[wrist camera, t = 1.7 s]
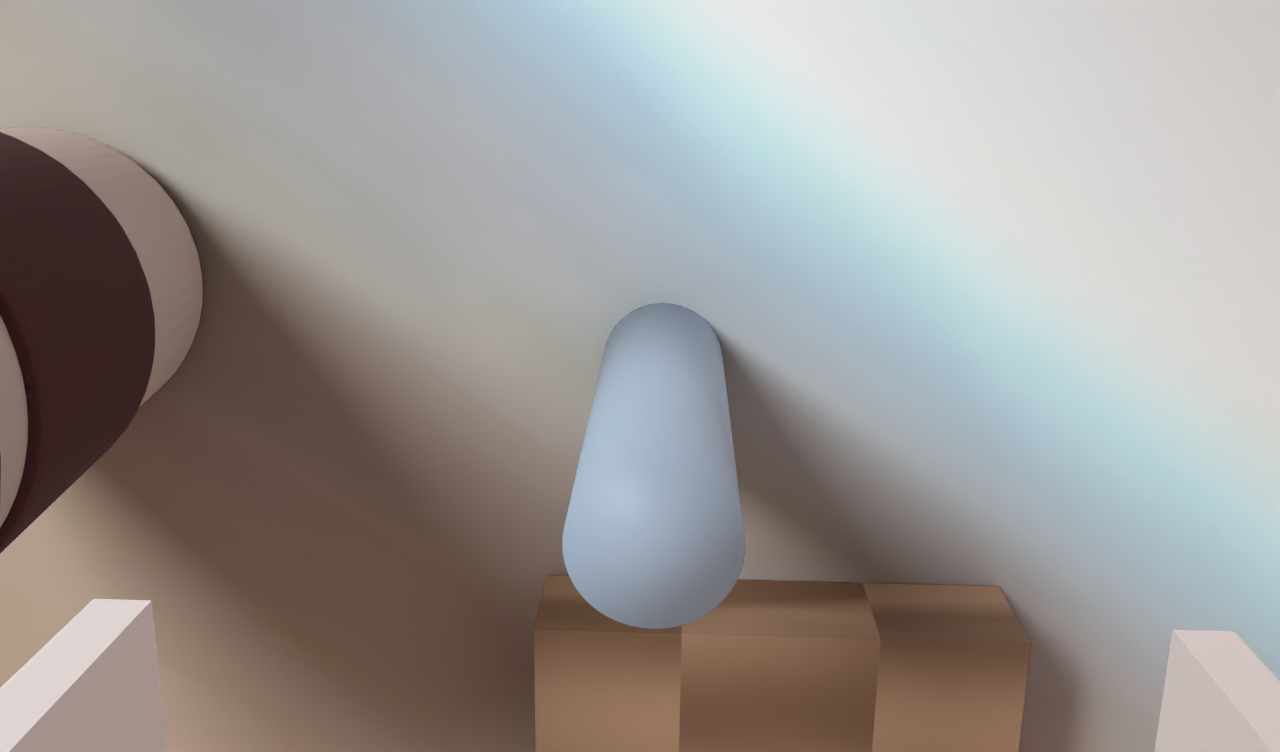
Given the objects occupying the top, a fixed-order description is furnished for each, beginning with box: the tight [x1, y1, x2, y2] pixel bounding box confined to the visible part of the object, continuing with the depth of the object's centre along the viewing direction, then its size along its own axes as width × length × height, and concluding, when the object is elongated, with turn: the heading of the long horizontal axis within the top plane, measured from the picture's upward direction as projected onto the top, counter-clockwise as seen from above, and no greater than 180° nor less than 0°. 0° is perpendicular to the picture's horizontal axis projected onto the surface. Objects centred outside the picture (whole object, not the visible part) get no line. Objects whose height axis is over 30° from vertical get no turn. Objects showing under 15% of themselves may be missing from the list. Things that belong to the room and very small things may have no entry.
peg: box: [562, 303, 745, 629], centre depth 25 cm, size 3×3×11 cm
